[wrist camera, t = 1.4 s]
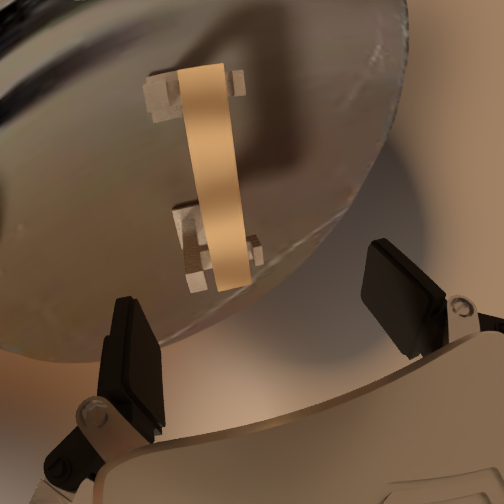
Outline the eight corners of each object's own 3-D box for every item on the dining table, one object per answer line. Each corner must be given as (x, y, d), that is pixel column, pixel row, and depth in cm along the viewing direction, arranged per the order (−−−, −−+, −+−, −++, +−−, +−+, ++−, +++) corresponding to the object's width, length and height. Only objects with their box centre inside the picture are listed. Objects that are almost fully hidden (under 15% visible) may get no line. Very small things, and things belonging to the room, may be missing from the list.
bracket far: (172, 209, 31) (171, 261, 22) (239, 195, 32) (266, 241, 23) (181, 246, 34) (186, 307, 25) (244, 233, 35) (270, 288, 26)
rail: (177, 73, 18) (177, 70, 15) (217, 67, 18) (223, 63, 16) (213, 272, 27) (218, 291, 25) (244, 265, 28) (251, 283, 25)
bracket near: (146, 77, 23) (128, 67, 14) (222, 64, 24) (246, 47, 15) (154, 122, 26) (140, 137, 17) (228, 108, 27) (254, 115, 18)
